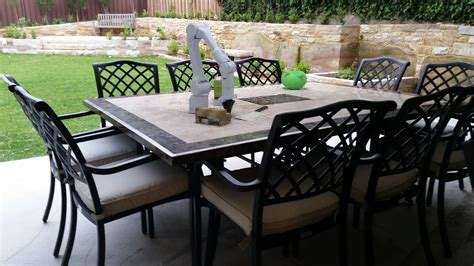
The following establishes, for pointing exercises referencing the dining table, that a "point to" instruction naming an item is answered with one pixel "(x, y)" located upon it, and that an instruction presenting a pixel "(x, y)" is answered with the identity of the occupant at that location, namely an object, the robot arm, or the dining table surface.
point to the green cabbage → (294, 78)
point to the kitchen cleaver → (252, 114)
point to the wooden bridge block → (212, 114)
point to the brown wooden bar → (208, 120)
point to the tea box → (217, 90)
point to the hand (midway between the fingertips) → (228, 115)
